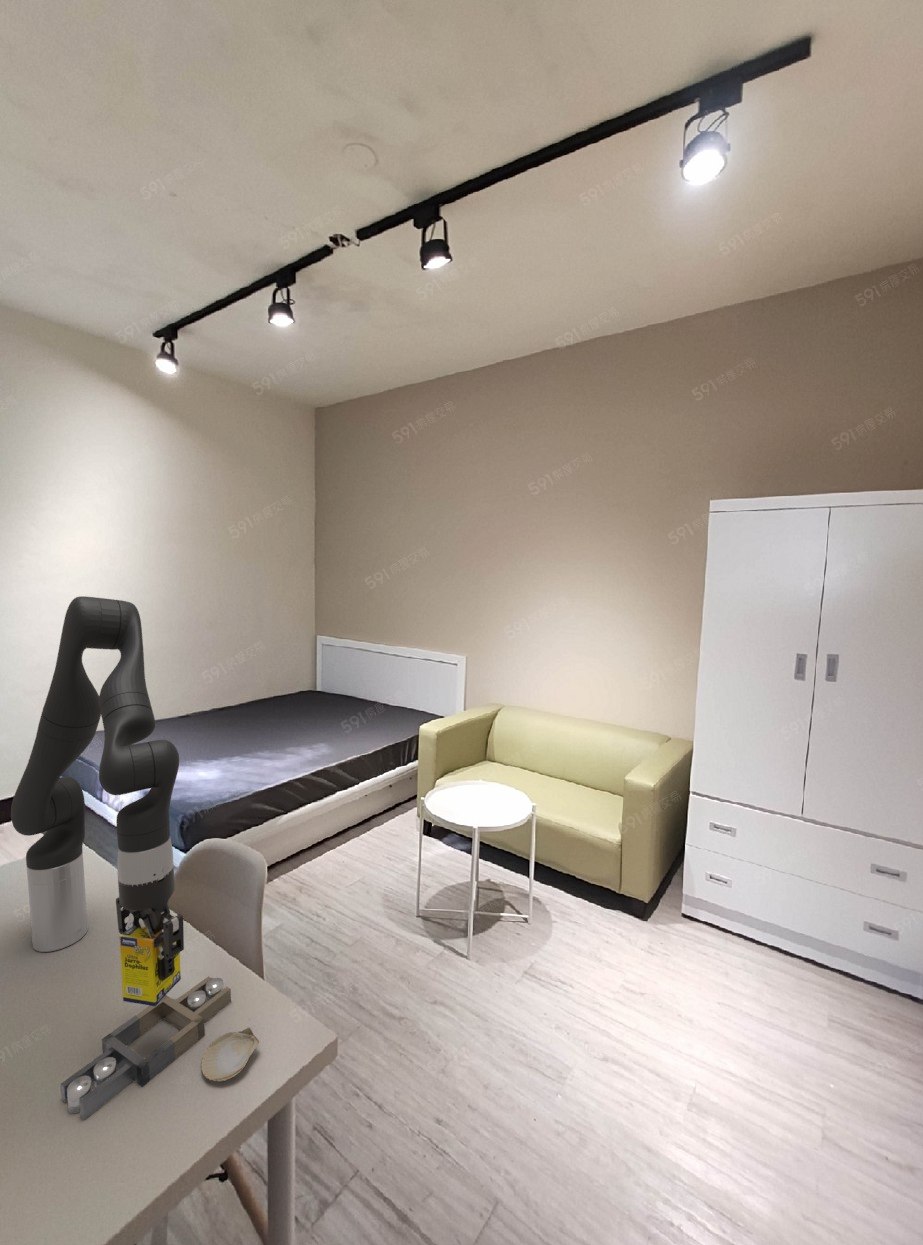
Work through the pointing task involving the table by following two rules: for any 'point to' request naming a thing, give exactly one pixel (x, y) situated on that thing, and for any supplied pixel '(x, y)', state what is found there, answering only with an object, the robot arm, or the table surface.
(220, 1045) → the seashell
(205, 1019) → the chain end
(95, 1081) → the frame
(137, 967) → the supplement box
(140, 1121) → the table surface
